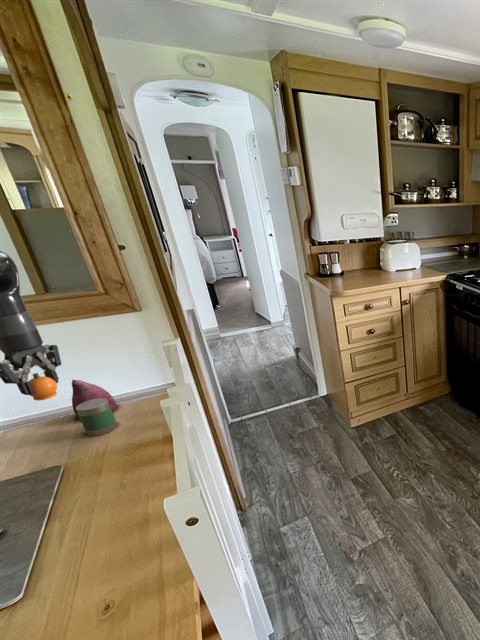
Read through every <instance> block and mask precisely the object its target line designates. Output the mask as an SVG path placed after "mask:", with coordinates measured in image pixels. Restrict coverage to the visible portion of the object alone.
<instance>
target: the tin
mask: <svg viewBox="0 0 480 640" xmlns="http://www.w3.org/2000/svg"><path fill="white" fill-rule="evenodd" d="M76 410H77V413H78V416H79V418H80V420H79V421H80V423H81V425H82V427H83V430H84V431H85V433H86V435H87V436H89V437H95V436H101V435H105V434H107V433H109V432H111V431H114V430H115V429H116V428H117V426H118V424H117V421H116V418H115V415H114V412H112V410H111V407H110V405H109V403H108V401H107V399H104V398H99V399H93V400H89V401H86V402H83V403H81V404H79V405H78V406H77V407H76Z"/></svg>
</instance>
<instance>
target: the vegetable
mask: <svg viewBox="0 0 480 640" xmlns="http://www.w3.org/2000/svg"><path fill="white" fill-rule="evenodd" d="M71 387H72V396H71V404H72V410H73V413H74V415H75V417H76V419H77V420H79V421H80V418H79V416H78V413H77V410H76V407H77V406H78V405H79V404H81V403H83V402H86V401H89V400H93V399H99V398H104V399H107V401H108V403H109V405H110V407H111V410H112V412H113V413H114V412H115V411H116V410H118V404H117V401H116V399H115V398H114V397H113V396H112V394H110V393H109V391H107V390H106V389H104V388H103V387H101V386H99V385H97V384H93V383H90V382H86V381H83V380H80V379H71Z"/></svg>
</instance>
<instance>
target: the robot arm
mask: <svg viewBox="0 0 480 640" xmlns="http://www.w3.org/2000/svg"><path fill="white" fill-rule="evenodd" d="M19 275H20V274H19V270H18V267H17V264H16V263H15V261H14V259H13V258H12V257H11V256H10V255H8V253H6V252H4V251H2V250H0V352H2V354H3V355H4V359H3V360H2V361H0V379H1V381H2V382H3V383H4V384H7V385H8V384H9V385H12V384H13V385H16V386H17V388H18V390H19V392H20V394H21V395H25V396H30V395H32V394H34V390H33V388H32V386H31V384H30V382H29V374H30V373H31V369H32V368H33V367H35V366H37V367H38V368H40V369H41V370H42V371H43V374H44V377H49V378H51V379H53V380H54V381H55V382H56V383H59V376H58V373H57V371H56V370H57V367H59V366H61V365H62V359H61V355H60V352H59V348H58V345H57V344H44V345H43V343H44V340H43V338H42V337H41V334H40V332H39V330H38V327H37V325H36V323H35V321H34V318H33V317H32V315H31V314H30V312H29V311H28V308H27V306H26V304H25V302H24V300H23V297H22V295H21V284H20V276H19Z"/></svg>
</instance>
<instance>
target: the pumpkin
mask: <svg viewBox="0 0 480 640" xmlns="http://www.w3.org/2000/svg"><path fill="white" fill-rule="evenodd" d="M32 376H33V377H32V378H30V379H28V381H29V382H30V384H31V386H32V388H33V390H34V394H32V395H29V396H30V397H32V398H33V400H34V401H44V400H48V399H52V398H54V397H56V396H57V395H58V393H57V389H58V384H57V383H56V382H55V381H54V380H53V379H51V378H49V377H45V376H40V374H39V373H38V372H35V373H32Z"/></svg>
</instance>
